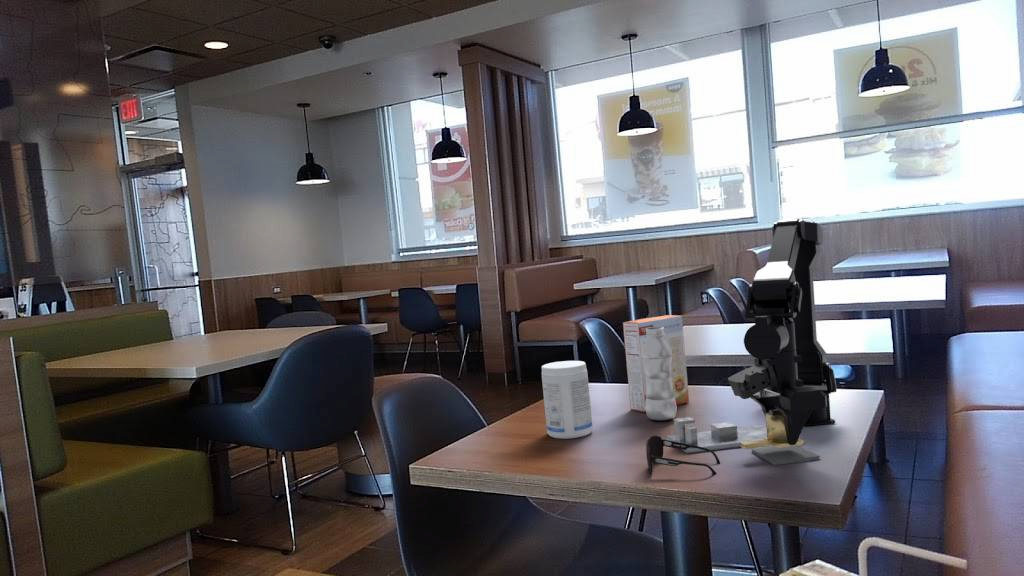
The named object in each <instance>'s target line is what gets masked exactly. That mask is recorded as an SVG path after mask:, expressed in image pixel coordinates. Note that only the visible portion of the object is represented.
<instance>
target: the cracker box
mask: <svg viewBox="0 0 1024 576" xmlns="http://www.w3.org/2000/svg"><path fill="white" fill-rule="evenodd" d="M622 327H623V338H624V349H625V350H624V351H625V361H626V372H627V380H628V381H627V384H628V393H629V394H628V395H629V404H630V405H629V407H630V410H631V411H637V412H642V413H646V410H645V402H646V377H645V371H644V366H643V362H642V357H641V350H642V348H643V346H644V344H645V343H646V341H647V339H648V337H646V328H651V327H663V328H664V334H665V336H663V339H664V340H665V341H666V342H667V344H668V345H669V346H670V348H671V351H672V362H671V381H672V388H673V394H674V398H675V401H676V406H677V405H678V406H679V405H682V404H686V403H689V402H690V398H689V385H688V384H689V383H688V373H687V372H688V371H687V361H686V352H685V351H686V349H685V337H684V336H685V335H684V326H683V316H682V315H675V314H674V315H671V314H665V315H661V316H653V317H652V316H651V317H646V318H640V319H639V318H638V319H633V320H629V321H624V322H622Z"/></svg>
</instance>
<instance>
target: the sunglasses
mask: <svg viewBox="0 0 1024 576" xmlns="http://www.w3.org/2000/svg"><path fill="white" fill-rule="evenodd" d="M645 447H646V448H645V449H646V450H645V454H646V461H647V467H648V470H649V473H650V474H652V473H653V472H654V471H653V464H659V465H665V466H670V467H677V466H680V465H681V464H685V465H688V466H689V465H691V466H701V467H706V468H708V469H709V470H710V471H711V475H716V474H717V472H716V471H715V469H713V468H712V466H710V465H708V464H706V463H701V462H692V461H685V460H678V459H673V458H667V457H663V456H664V447H668V448H671V449H672V448H673V449H677V450H681V449H682V450H686V449H688V448H690V447H692V448H698V449H702V450H706V451H705V452H709V453H711V454H712V456H714V458H715V461H716V464H717V465H721V461H720V459H719V457H718V455H717V454H716V453H715V452H714V450H709V449H707V448H703V447H699V446H694V445H689V444H684V443H679V442H674V441H669V440H667V439H662V437H661V436H660V435H650V436H649V437H648V438H647V439H646V441H645ZM682 450H681V451H682Z"/></svg>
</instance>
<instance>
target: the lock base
mask: <svg viewBox="0 0 1024 576" xmlns="http://www.w3.org/2000/svg"><path fill="white" fill-rule="evenodd" d="M695 423H696V419H694V418H693V417H690V416H687V417H678V418H673V429H674V434H671V435H666V440H669V441H674V442H679V443H684V444H689V445H694V446H699V447H703V448H707V449H709V450H712V451H717V450H725V449H735V448H741V443H742V442H749V441H757V440H764V438H767V428H766V427H765V426H762V425H761V424H759V425H758V424H757V425H749V426H741V427H738V425H736V424H733V423H732V422H730V421H725V422H717V423H716V422H715V423H710V430H707V431H698V430H697V429H698V428H697V427H695V426H688V427H686V425H690V424H695ZM680 450H681V451H682V452H683V453H685V454H693V453H700V452H707V451H706V450H702V449H698V448H692V447H690V448H688V449H686V450H682V449H680Z"/></svg>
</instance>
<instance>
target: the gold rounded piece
mask: <svg viewBox="0 0 1024 576" xmlns="http://www.w3.org/2000/svg"><path fill="white" fill-rule="evenodd" d="M765 424H766V425H765V426H766V427H765V428H767V438H764V440H757V441H749V442H742V443H741V447H740V448H741V449H743V450H749V449H751V450H752V449H757V448H765V447H774V446H776V447H778V448H781V447H789V446H796V445H798V446H803V445H804V443H805V442H804V440H802V439H800V438H801V435H800V436H799V438H798V441H797V443H796V444H795V445H789V443H788V439H787V435H786V429H785V424H784V418H783V415H782V414H781V413H780V412H779V411H778V410H777V409H773V410H769V412H767V413H766V417H765Z"/></svg>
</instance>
